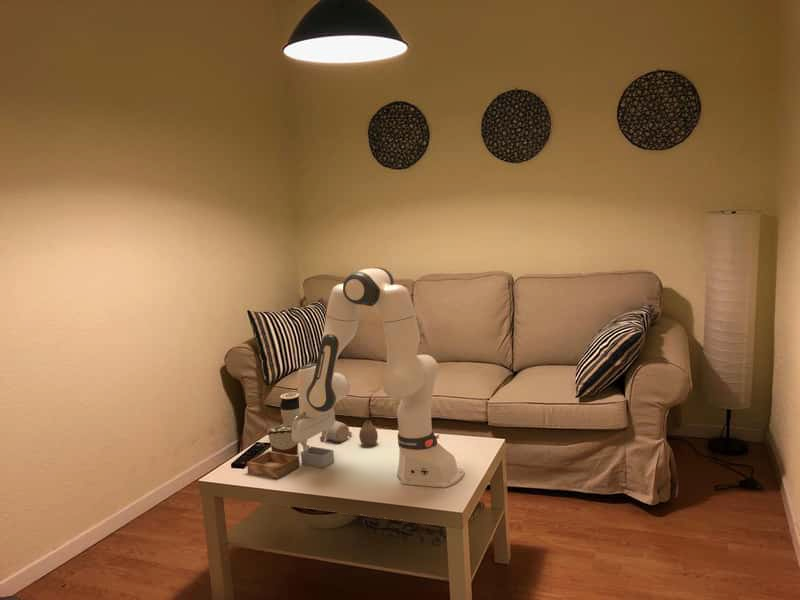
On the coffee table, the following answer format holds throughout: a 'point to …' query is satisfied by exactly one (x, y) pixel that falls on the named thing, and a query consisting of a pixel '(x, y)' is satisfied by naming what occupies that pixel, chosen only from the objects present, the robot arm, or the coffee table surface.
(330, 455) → the small crate
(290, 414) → the travel mug
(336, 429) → the ceramic mug
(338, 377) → the robot arm
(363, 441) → the vase
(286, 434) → the food container
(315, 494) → the coffee table surface
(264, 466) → the big crate
